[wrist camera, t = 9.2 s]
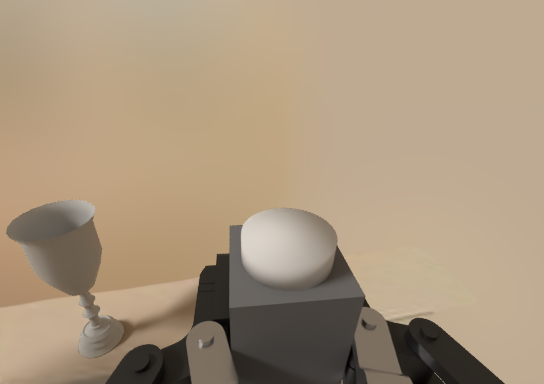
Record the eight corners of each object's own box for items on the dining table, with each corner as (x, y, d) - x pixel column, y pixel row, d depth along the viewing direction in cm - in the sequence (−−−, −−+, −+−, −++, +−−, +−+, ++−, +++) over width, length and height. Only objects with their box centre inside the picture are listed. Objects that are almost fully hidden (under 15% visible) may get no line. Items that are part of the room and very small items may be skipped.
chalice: (134, 350, 32) (94, 228, 24) (66, 378, 29) (-6, 250, 21) (129, 305, 38) (96, 194, 30) (72, 325, 35) (17, 208, 27)
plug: (237, 495, 14) (227, 281, 7) (236, 405, 17) (228, 204, 10) (312, 481, 14) (372, 271, 7) (296, 397, 18) (326, 201, 11)
